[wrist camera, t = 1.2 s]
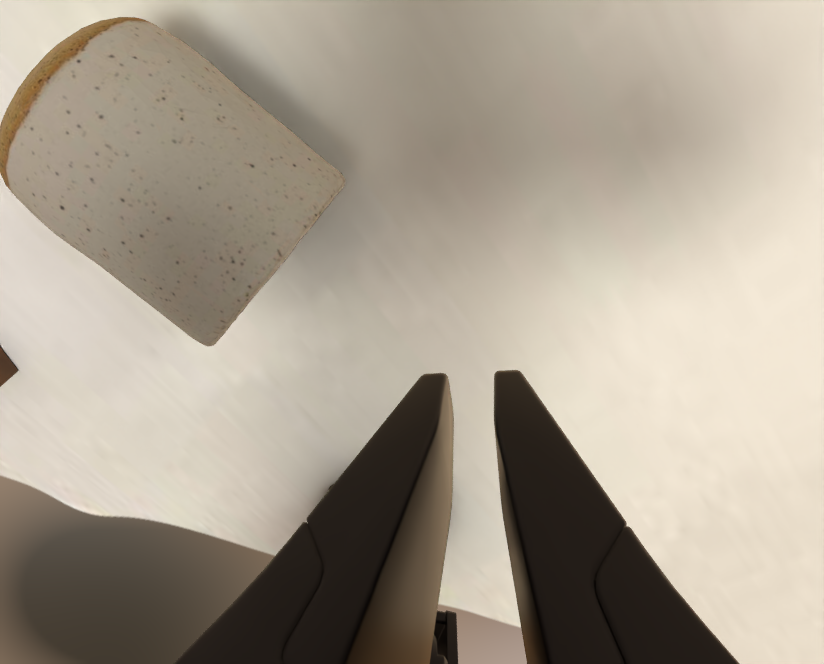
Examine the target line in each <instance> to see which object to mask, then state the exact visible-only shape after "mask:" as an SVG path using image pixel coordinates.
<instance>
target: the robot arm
mask: <svg viewBox="0 0 824 664" xmlns="http://www.w3.org/2000/svg"><path fill="white" fill-rule="evenodd" d="M494 425H495V437H496V448H497V459H498V471H499V482H500V493H501V504H502V512H503V519H504V525H505V531H506V537H507V543H508V549H509V556H510V562H511V568H512V574H513V580H514V586H515V592H516V598H517V604H518V610H519V616H520V622H521V628H522V634H523V640H524V646H525V652H526V658H527V664H739V663H738V662H737V660H736V659H735V658H734V657H733V656H732V655H731V654H730V652H729V651H728V650H727V649H726V648H725V647H724V646H723V644H722V643H721V642H720V641H719V640H718V639H717V638H716V636H715V635H714V634H713V633H712V632H711V631H710V630H709V628H708V627H707V626H706V625H705V624H704V623H703V621H702V620H701V619H700V618H699V617H698V615H697V614H696V613H695V612H694V611H693V609H692V608H691V607H690V606H689V605H688V603H687V602H686V601H685V600H684V599H683V597H682V596H681V595H680V594H679V593H678V591H677V590H676V589H675V588H674V587H673V585H672V584H671V583H670V581H669V580H668V579H667V577H666V576H665V575H664V573H663V572H662V571H661V569H660V568H659V567H658V565H657V564H656V563H655V561H654V560H653V559H652V557H651V556H650V555H649V553H648V552H647V551H646V549H645V548H644V546H643V545H642V544H641V542H640V541H639V539H638V538H637V536H636V535H635V534H634V532H633V531H632V529H631V528H630V527H628V526H626V525H627V524H626V521H625V520H624V518H623V517H622V515H621V514H620V513H619V511H618V510H617V508H616V507H615V505H614V504H613V503H612V501H611V500H610V498H609V497H608V495H607V494H606V493H605V491H604V490H603V488H602V487H601V485H600V484H599V483H598V481H597V480H596V478H595V477H594V475H593V474H592V473H591V471H590V470H589V468H588V467H587V466H586V464H585V463H584V461H583V460H582V458H581V457H580V456H579V454H578V453H577V451H576V450H575V448H574V447H573V446H572V444H571V443H570V441H569V440H568V438H567V437H566V436H565V434H564V433H563V431H562V430H561V428H560V427H559V426H558V424H557V423H556V421H555V420H554V418H553V417H552V416H551V414H550V413H549V411H548V410H547V408H546V407H545V406H544V404H543V403H542V401H541V400H540V398H539V397H538V396H537V394H536V393H535V391H534V390H533V388H532V387H531V386H530V384H529V383H528V381H527V380H526V378H525V377H524V376H523V374H522V373H521V372H520V371H518V370H508V371H497V372H496V373H495V375H494ZM453 434H454V416H453V406H452V399H451V393H450V386H449V380H448V376H447V375H446V374H445V373H434V374H424V375H422V376H421V377H420V378H419V379H418V381H417V382H416V383H415V384H414V386H413V387H412V388H411V389H410V391H409V392H408V393H407V394H406V396H405V397H404V398H403V399H402V401H401V402H400V403H399V404H398V406H397V407H396V408H395V409H394V410H393V412H392V413H391V414H390V415H389V417H388V418H387V419H386V420H385V422H384V423H383V424H382V425H381V427H380V428H379V429H378V430H377V432H376V433H375V434H374V435H373V437H372V438H371V439H370V440H369V442H368V443H367V444H366V445H365V446H364V448H363V449H362V450H361V451H360V453H359V454H358V455H357V456H356V458H355V459H354V460H353V461H352V463H351V464H350V465H349V466H348V468H347V469H346V470H345V471H344V473H343V474H342V475H341V476H340V477H339V479H338V480H337V481H336V482H335V484H334V485H332V486H330V488H329V491H328V492H327V494H326V495H325V496H324V497H323V499H322V500H321V501H320V502H319V504H318V505H317V506H316V507H315V508H314V510H313V511H312V512H311V513H310V515H309V516H308V517H307V522H303V523H302V524H301V526H300V527H299V528H298V529H297V531H296V532H295V533H294V534H293V535H292V537H291V538H290V539H289V540H288V542H287V543H286V544H285V545H284V546H283V548H282V549H281V550H280V551H279V552H278V553H277V555H276V556H275V557H274V558H273V559H272V561H271V562H270V563H269V564H268V565H267V566H266V568H265V569H264V570H263V571H262V572H261V573H260V574H259V575H258V576H257V578H256V579H255V580H254V581H253V582H252V583H251V584H250V585H249V586H248V587H247V588H246V589H245V590H244V591H243V592H242V594H241V595H240V596H239V597H238V598H237V599H236V600H235V601H234V602H233V603H232V604H231V605H230V606H229V607H228V608H227V609H226V610H225V611H224V612H223V613H222V614H221V616H219V618H218V619H217V620H216V621H215V622H214V623H213V624H212V625H211V626H210V627H209V628H208V629H207V630H206V631H205V632H204V633H203V634H202V635H201V636H200V637H199V638H198V639H197V640H196V641H195V642H194V643H193V644H192V645H191V646H190V647H189V648H188V649H187V650H186V651H185V652H184V653H183V654H182V656H180V658H178V660H177V661H176V662H175V663H174V664H458V651H457V625H456V623H457V622H456V613H455V612H450V611H446V612H441V611H437V607H438V601H439V594H440V587H441V580H442V573H443V566H444V559H445V552H446V545H447V538H448V530H449V523H450V516H451V507H452V492H453Z"/></svg>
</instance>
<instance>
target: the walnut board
mask: <svg viewBox="0 0 824 664" xmlns="http://www.w3.org/2000/svg"><path fill="white" fill-rule="evenodd" d="M17 371H18V370H17V369H16V367H15V366H14V365H13V363H12V362H11V361H10V359H9V358H8V357H7V355H6V354H5V353H4V351H3V350H2V349H1V348H0V387H1V386H2V385H3V384H4V383H5V382H6V381H7V380H8V379H10V378H11V377H12V376H13V375H14V374H15V373H16V372H17Z"/></svg>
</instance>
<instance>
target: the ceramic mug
mask: <svg viewBox="0 0 824 664" xmlns="http://www.w3.org/2000/svg"><path fill="white" fill-rule="evenodd" d="M0 173H1V175H2V178H3V180H4V182H5V184H6V186H7V187H8V188H9V189H10V190H11V192H12V193H13V194H14V195H15V196H16V198H17V199H18V200H19V201H20V202H21V203H22V204H24V205H25V206H26V207H27V208H28V209H29V210H30V211H31V212H32V213H33V214H34V215H35V216H36V217H37V218H38V219H39V220H40V221H41V222H42V223H44V224H45V225H46V226H47V227H48V228H49V229H50V230H51V231H52V232H54V233H55V234H56V235H57V236H59V237H60V238H61V239H63V240H64V241H66V242H67V243H68V244H70V245H71V246H73V247H74V248H76V249H77V250H78V251H80V252H81V253H83V254H84V255H85V256H87V257H88V258H90V259H91V260H93V261H94V262H95V263H97V264H98V265H100V266H101V267H102V268H104V269H105V270H106V271H107V272H109V273H110V274H111V275H112V276H114V277H115V278H116V279H118V280H119V281H120V282H121V283H123V284H124V285H125V286H127V287H128V288H129V289H130V290H132V291H133V292H134V293H136V294H137V295H138V296H139V297H141V298H142V299H143V300H145V301H146V302H147V303H148V304H150V305H151V306H152V307H154V308H155V309H156V310H157V311H159V312H160V313H161V314H163V315H164V316H165V317H166V318H168V319H169V320H170V321H171V322H173V323H174V324H175V325H177V326H178V327H179V328H180V329H182V330H183V331H184V332H185V333H187V334H188V335H189V336H191V337H192V338H193V339H195V340H197V341H198V342H200V343H202V344H204V345H206V346H212V345H214V344H216V342H217V341H218V340H219V339H220V337H222V336H223V335H224V334H225V332H226V330H227V329H228V328H229V327H230V325H231V324H232V323H233V322H234V321H235V320H236V318H237V317H238V315H239V314H240V313H241V312H242V311H243V310H244V308H245V307H246V306H247V305H248V303H249V302H250V301H251V300H252V298H253V297H254V296H255V295H256V294H257V293H258V291H259V290H260V289H261V288H262V287H263V286H264V285H265V283H266V282H267V281H268V280H269V279H270V278H271V277H272V276H273V274H274V273H275V272H276V271H277V270H278V268H279V267H280V266H281V265H282V264H283V262H284V261H285V260H286V259H287V257H288V256H289V255H290V253H291V252H292V251H293V249H294V248H295V246H296V245H297V243H298V242H299V241H300V240H301V238H302V237H303V236H304V235H305V234H306V233H307V232H308V231H309V229H310V228H311V227H312V226H313V224H314V223H315V222H316V220H317V219H318V218H319V217H320V215H321V214H322V212H323V211H324V210H325V209H326V208H327V206H328V205H329V204H330V203H331V202H332V200H333V199H334V197H335V196H336V195H337V194H338V193H339V192H340V190H341V189H342V188H343V187H344V186H345V179H344V177H343V175H342V173H340V172H339V171H338V170H337V169H335V168H334V167H333V166H331V165H330V164H329V163H328V162H326V161H325V160H324V159H323V158H322V157H320V156H319V155H318V154H317V153H316V152H315V151H313V150H312V149H311V148H310V147H309V146H308V145H306V144H305V143H304V142H303V141H302V140H301V139H300V138H298V137H297V136H296V135H295V134H294V133H293V132H292V131H290V130H289V129H288V128H287V127H285V126H284V125H283V124H282V123H281V122H279V121H278V120H277V119H276V118H274V117H273V116H272V115H271V114H270V113H268V112H267V111H266V110H265V109H263V108H262V107H261V106H260V105H259V104H257V103H256V102H255V101H254V100H252V99H251V98H250V97H249V96H248V95H246V94H245V93H244V92H243V91H242V90H240V89H239V88H238V87H237V86H235V85H234V84H233V83H232V82H231V81H230V80H229V79H228V78H227V77H226V76H224V75H223V74H222V73H221V72H220V71H219V70H218V69H217V68H216V67H215V66H214V65H212V64H211V63H210V62H209V61H207V60H206V59H205V58H204V57H202V56H201V55H200V54H199V53H197V52H196V51H195V50H193V49H192V48H191V47H190V46H188V45H187V44H186V43H184V42H183V41H181V40H180V39H178V38H176V37H175V36H173V35H171V34H170V33H168V32H166V31H164V30H163V29H161V28H159V27H158V26H156V25H154V24H152V23H150V22H148V21H146V20H143V19H139V18H131V17H119V18H113V19H108V20H102V21H99V22H97V23H94V24H91V25H89V26H86V27H84V28H82V29H80V30H79V31H77V32H76V33H74V34H73V35H71V36H69V37H68V38H66V39H65V40H63V41H62V42H60V43H59V44H58V45H57V46H55V47H54V48H53V49H52V50H51V51H50V52H49V53H48V54H47V55H46V56H45V57H44V58H43V59H42V60H41V61H40V62H39V63H38V64H37V65H36V67H35V68H34V69H33V70H32V71H31V72H30V73H29V75H28V76H27V77H26V79H25V80H24V81H23V83H22V84H21V86H20V87H19V88H18V90H17V92H16V94H15V95H14V97H13V99H12V101H11V103H10V104H9V106H8V108H7V110H6V113H5V115H4V117H3V120H2V122H1V126H0Z"/></svg>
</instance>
